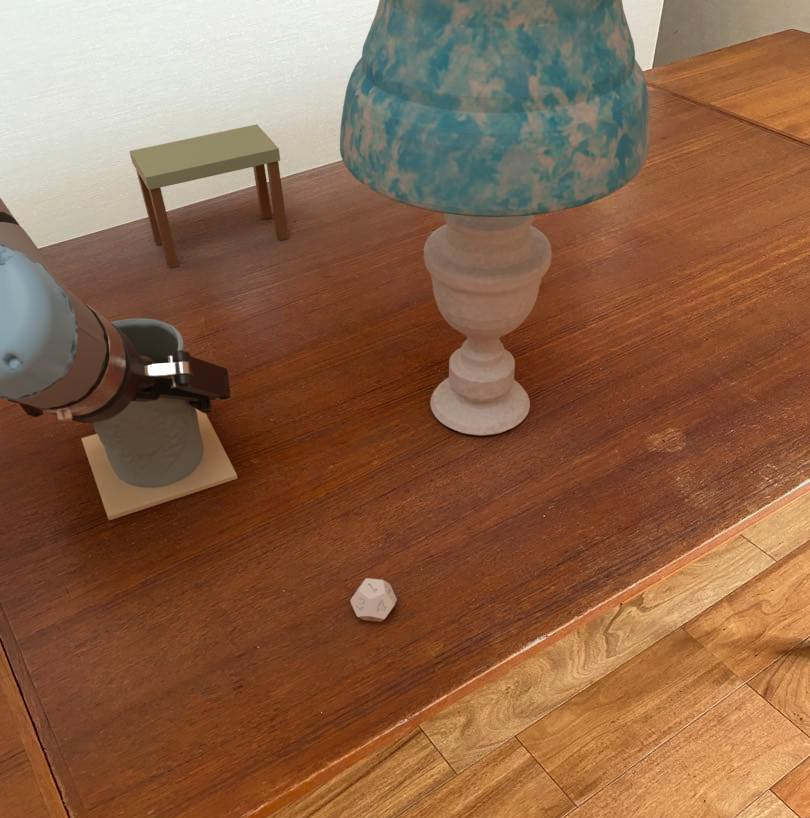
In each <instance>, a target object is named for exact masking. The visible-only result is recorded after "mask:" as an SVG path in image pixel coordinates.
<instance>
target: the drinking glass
mask: <svg viewBox="0 0 810 818" xmlns="http://www.w3.org/2000/svg"><path fill="white" fill-rule="evenodd" d="M110 322H111V323H112V324H113V325H114V326H116V327H117V328H118V329H120V330H121V331H122V332H123V333H124V334H125V335H126V336H127V337H128V338H129V339H130V341H131V342H132V344H133V345H134V347H135V348H136V350H137V352H138V354H139V355H143V356H149V357H153V358H154V360H155V362H156V363H157V364H158V363H168V358H167V357H168V356H173V354H172V353H174V352H175V351H178V350H183V351H186V348H185V347H186V346H185V342H184V340H183V335H182V334H181V332H180V331H179V330H178V329H177V328H176V327H174V326H173V325H171V324H170V323H167V322H164V321H162V320H159V319H154V318H153V319H152V318H139V317H138V318H125V319H119V320H114V321H110ZM139 392H140V391H139ZM92 424H93V425H92V426H93V430H94V431H95V434H98V436H99V438H100V441H101V442H102V444H103V446H104V448H105V451H106V454H107V457H108V460H109V462H110V464H111V466H112V468H113V470H114V472H115V473H116V475H117V476H118V477H119V479H120V480H123V481H124V482H125V483H128V484H130V485H134V486H138V487H147V488H149V487H151V488H153V487H162V486H166V485H170V484H172V483H175V482H177V481H180V480H182V479H183V478H185V477H187V476H188V475H189V474H191V473H192V472H193V471H194V470H195V469H196V468H197V466H198V465H199V464H200V462H201V459H202V456H203V442H202V437H201V433H200V428H199V422H198V417H197V412H196V409H195V408H194V407H193V406H191V405H190V401H188V400H178V399H169V398H158V399H157V400H153V401H148V402H137V401H131V402H130V403H129V405H128V406H127V407H126V408H125V409H124V410H123V411H122V412H120V413H119V414H117V415H116V416H114V417H112V418H110V419H107V420H104V421H100V422H94V423H92Z"/></svg>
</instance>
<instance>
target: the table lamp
mask: <svg viewBox="0 0 810 818" xmlns="http://www.w3.org/2000/svg"><path fill="white" fill-rule="evenodd" d="M366 35H367V36H366V38H365V40H364V43H363V45H362V50H361V51H362V52H361V58H359V60H358V61H357V62H356V64H355V65H354V67H353V70H352V72H351V74H350V77H349V80H348V83H347V85H346V90H345V95H344V101H343V106H342V113H341V121H340V129H339V130H340V131H339V133H340V134H339V153H340V156H341V157H340V158H341V159H342V162H343V165H344V167H345V168H346V169H347V170H348V171H349V173H350V174H351V175H352V176H353V177H354V178H355V179H356V181H358V182H360V183H361V184H363V185H364V186H365V187H367V188H368V189H370V190H371V191H372V192H374V193H377V194H378V195H380V196H383V197H385V198H387V199H389V200H391V201H394V202H398V203H401V204H404V205H406V206H410V207H412V208H416V209H421V210H426V211H430V212H434V213H439V214H443V217H444V221H445V224H444V225H441V226H439V227H438V228H437V229H435V230H434V231H432V232H431V234H430V235H429V236H428V237H427V239H426V241H425V243H424V246H423V263H424V266H425V268H426V270H427V272H428V274H430V277H431V285H432V293H433V296H434V297H433V298H434V300H435V303H436V306H437V309H438V311H439V313H440V314H441V315H442V318H443V319H444V321H445V322H446V323H447V324H448V325H449V326H450V327H451V328H452V329H454V330H455V331H456V332H459V333H460V334H462V335H464V336H465V337H466V339H465V340H464V342H463V343H462V344H461V347H459V348H457V349H456V350H455V351H454V352H452V354H451V355H450V357H449V359H448V377H446V378H445V379H444V380H443V381H442V382H439V384H438V386H436V387H435V389H434V390H433V391H432V394H431V397H430V402H429V403H430V404H429V405H430V409H431V413H433V415H434V417H435V418H436V419H437V420H438V421H439V422H440V423H441V424H442V425H444V426H445V427H447V428H449V429H451V430H453V431H456V432H458V433H460V434H463V435H471V436H478V437H484V436H491V435H492V436H493V435H499V434H501V433H504V432H506V431H508V430H511V429H513V428H515V427H516V426H518V425H519V424H521V423H522V422H523V421H524V420H525V419H526V417H527V416H528V414H529V412H530V408H531V400H530V397H529V395H528V392H527V391H526V390H525V389H524V387H523V386H522V384H520V383H519V382H518V381H517V380H516V379H515V371H516V370H515V369H516V360H515V358H514V356H513V355H512V353H511V352H510V351H508V349H505V346H504V344H503V343H502V342H501V340H500V338H502V337H504V336H505V335H507V334H510V333H511V332H514V330H516V329H517V328H518V327H519V326H521V325H522V324H523V323H524V322H525V321H526V319H527V318H528V317H529V316H530V313H531V312H532V311H533V309H534V306H535V304H536V302H537V298H538V294H539V290H540V286H541V281H542V278H543V277H544V276H545V275H546V274H547V272H548V271H549V268H550V265H551V262H552V255H553V252H552V245H551V243H550V240H549V239H548V237H547V236H546V235H545V234H544V233H543V232H542V231H541V230H539V229H537V228H536V227H535V226H533V225H532V224H533V223H534V220H535V216H536V215H544V214H550V213H557V212H561V211H566V210H570V209H574V208H578V207H582V206H584V205H585V206H586V205H587V204H590V203H593V202H596V201H599V200H602V199H604V198H606V197H607V196H609V195H611V194H614V193H615V192H617V191H619V190H621V189H622V188H624V187H625V186H627V184H629V183H630V182H631V181H632V180H634V179H635V178H636V177H637V176H638V175H639V174H640V172H642V170H643V168H644V167H645V166H646V163H647V160H648V156H649V153H650V148H651V114H650V106H649V105H650V102H649V92H648V86H647V82H646V81H647V80H646V77H645V73H644V71H643V68H641V66H640V64H639V63H638V61H637V60H636V50H635V43H634V39H633V37H632V33H631V30H630V27H629V24H628V20H627V16H626V14H625V10H624V5H623V0H378V4H377V8H376V12H375V16H374V18H373V20H372V23H371V25H370V28H369V30H368V33H367V34H366Z"/></svg>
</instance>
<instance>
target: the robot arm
mask: <svg viewBox="0 0 810 818" xmlns="http://www.w3.org/2000/svg"><path fill="white" fill-rule="evenodd" d="M111 322H112V321H109V320H108V319H107V318H106V317H105V316H103V315H102V314H101V313H100V312H99V311H97V310H96V309H94V308H93V307H91V306H90V305H89V304H87V303H86V302H84V301H83V300H81V299H80V298H79V297H77V296H76V295H75V294H74V293H73V292H72V291H71V290H69V289H68V287H67V286H66V285H65V284H64V282H63V281H62V279H60V277H59V275H57V273H56V271H55V270H54V269H53V268H52V266H51V265H50V264H49V262H48V260H47V259H46V258H45V256H44V255H43V254H42V252H41V251H40V249H39V248H38V247H37V245H36V243H35V242H34V241H33V239H32V238H31V236H29V234H28V233H27V231H26V230H25V229H24V228H23V227H22V226H21V225H20V223H19V222H18V221H17V218H15V217H14V215H13V214H12V212H11V211H10V209H9V208H8V207H7V205H6V203H5V202H4V200H3V199H2V197H0V399H4V400H7V401H8V402H11V403H14V404H19V406H20V407H21V408H22V410H23V411H24V412H25V414H26V415H27V416H30V417H32V418H38V417H40V416H43V415H44V411H45V412H47V413H50V414H52V415H54V416H56V419H57V421H59V422H61V423H69V422H72V421H74V422H77V423H83V424H93V423H94V422H100V421H104V420H107V419H110V418H112V417H114V416H116V415H117V414H119V413H120V412H122V411H123V410H124V409H125V408H126V407H127V406H128V405H129V403H130V402H131V401H137V402H148V401H153V400H157V399H158V398H169V399H178V400H188V401H190V405H191V406H193V407H194V408H196V409H197V410H199V411H201V412H202V413H206V414H208V413H212V401H215V400H216V399H218V400H221V401H224V400H225V401H226V400H228V399H230V398H231V390H230V389H231V388H230V380H229V369H228V368H227V367H224V366H221V365H218V364H215V363H211V362H208V361H206V360H202V359H201V358H196V357H194V356H191V354H190V352H189V351H186V350H185V351H183V350H178V351H175V352H174V353H172V354H173V356H168V357H167V358H168V363H158V364H157V363H156V362H155V360H154V358H153V357H149V356H143V355H139V354H138V352H137V350H136V348H135V347H134V345H133V344H132V342H131V341H130V339H129V338H128V337H127V336H126V335H125V334H124V333H123V332H122V331H121V330H120V329H118V328H117V327H116V326H114V325H113V324H112V323H111ZM139 391H140V392H139Z"/></svg>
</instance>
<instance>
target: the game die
mask: <svg viewBox="0 0 810 818" xmlns="http://www.w3.org/2000/svg"><path fill="white" fill-rule="evenodd" d="M397 600H398V599H397V596H396V594H395V592H394V589H393V587H392V585H391V584H390V583H389V582H388V581H386V580H385V579H379V578H368V577H365V579H364V580H363V581H362V582H361V584H360V585H359V587H358V588H357V589H356V591H355V592H354V593H353V595H352V597H351V599H350V600H349V602H350V605H351V606H352V609H353V611H354V613H355V615H356V617H357V618H359V619H360V620H363V621H367V622H368V621H369V622H376V623H377V622H378V623H382V622H383V621H384V620H386V618H387V617H388V615H389V614H390V612H391V611H392V609H393V608H395V605H396V603H397Z"/></svg>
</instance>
